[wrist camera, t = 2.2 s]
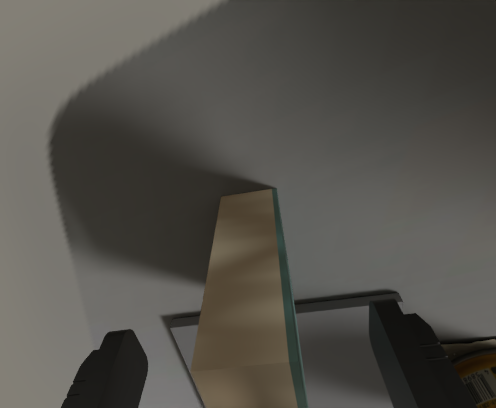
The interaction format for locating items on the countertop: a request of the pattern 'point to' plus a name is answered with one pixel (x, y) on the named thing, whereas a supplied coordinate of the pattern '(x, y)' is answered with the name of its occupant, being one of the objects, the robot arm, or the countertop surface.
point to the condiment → (476, 369)
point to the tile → (249, 312)
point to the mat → (325, 352)
